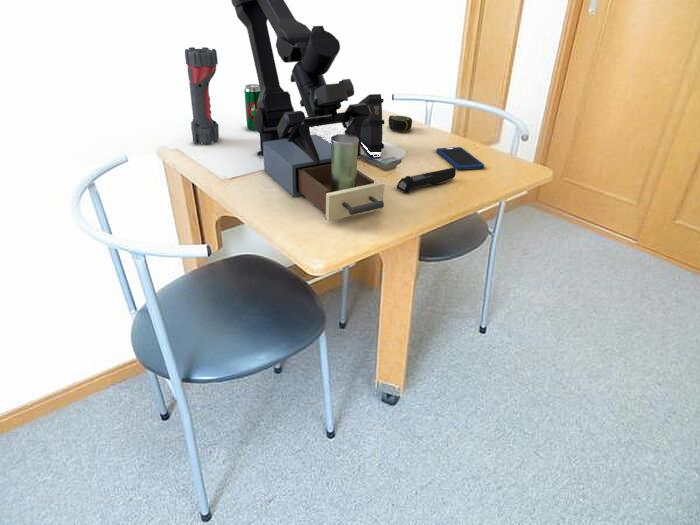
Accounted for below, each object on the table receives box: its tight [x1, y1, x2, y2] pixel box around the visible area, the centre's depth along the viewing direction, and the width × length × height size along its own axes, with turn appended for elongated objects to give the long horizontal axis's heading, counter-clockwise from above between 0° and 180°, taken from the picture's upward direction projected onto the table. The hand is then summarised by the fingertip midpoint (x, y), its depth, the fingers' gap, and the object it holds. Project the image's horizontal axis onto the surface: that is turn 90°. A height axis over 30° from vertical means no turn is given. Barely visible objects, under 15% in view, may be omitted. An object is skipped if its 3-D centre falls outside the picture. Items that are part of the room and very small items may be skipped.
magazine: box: [357, 93, 385, 159], centre depth 125 cm, size 4×13×15 cm, turn 15°
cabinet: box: [263, 133, 332, 198], centre depth 109 cm, size 16×14×7 cm
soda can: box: [243, 83, 261, 132], centre depth 137 cm, size 5×5×12 cm
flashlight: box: [184, 46, 220, 146], centre depth 124 cm, size 8×8×23 cm
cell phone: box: [435, 146, 485, 171], centre depth 125 cm, size 7×14×1 cm, turn 15°
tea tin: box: [330, 133, 359, 192], centre depth 95 cm, size 5×5×12 cm
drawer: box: [298, 163, 385, 222], centre depth 97 cm, size 19×12×5 cm, turn 31°
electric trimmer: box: [396, 167, 457, 194], centre depth 110 cm, size 4×16×3 cm, turn 122°
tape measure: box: [387, 115, 413, 133], centre depth 143 cm, size 7×7×4 cm
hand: (339, 159), depth 95 cm, fingers open, 9 cm apart
